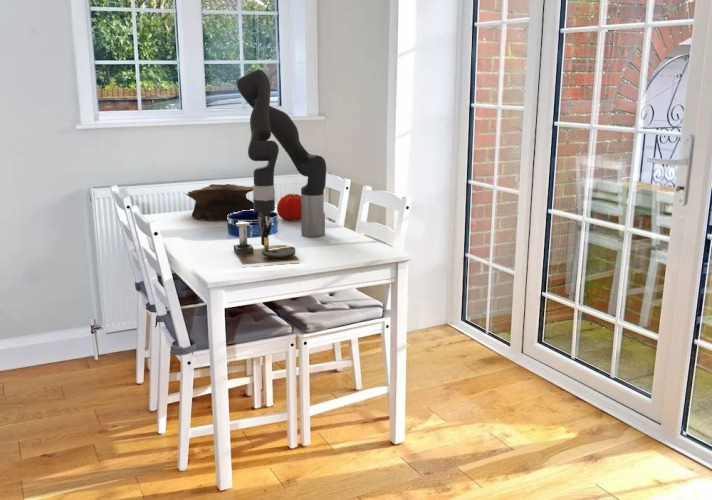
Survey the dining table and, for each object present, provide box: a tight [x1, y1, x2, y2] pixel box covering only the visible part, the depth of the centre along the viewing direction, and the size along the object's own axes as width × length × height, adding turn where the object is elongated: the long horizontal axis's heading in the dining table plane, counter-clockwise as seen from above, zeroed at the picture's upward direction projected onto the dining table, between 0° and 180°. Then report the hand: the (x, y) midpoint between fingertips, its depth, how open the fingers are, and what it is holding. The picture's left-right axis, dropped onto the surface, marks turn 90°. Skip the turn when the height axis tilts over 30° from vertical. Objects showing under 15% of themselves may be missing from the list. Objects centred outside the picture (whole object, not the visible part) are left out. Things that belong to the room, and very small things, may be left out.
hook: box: [235, 221, 251, 248], centre depth 259 cm, size 5×3×11 cm, turn 109°
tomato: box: [276, 192, 301, 222], centre depth 321 cm, size 13×14×12 cm
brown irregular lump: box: [185, 183, 254, 222], centre depth 330 cm, size 34×33×15 cm
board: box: [233, 243, 300, 268], centre depth 257 cm, size 20×20×3 cm
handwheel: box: [261, 236, 296, 258], centre depth 254 cm, size 12×12×6 cm
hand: (264, 245), depth 254 cm, fingers closed
